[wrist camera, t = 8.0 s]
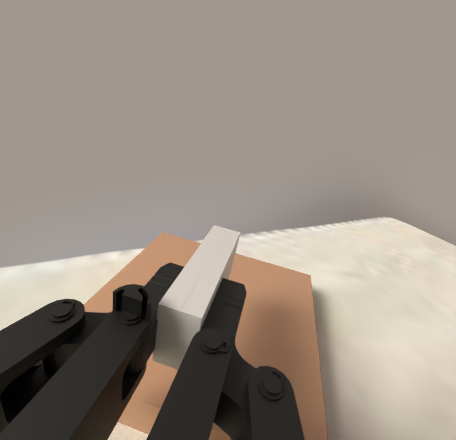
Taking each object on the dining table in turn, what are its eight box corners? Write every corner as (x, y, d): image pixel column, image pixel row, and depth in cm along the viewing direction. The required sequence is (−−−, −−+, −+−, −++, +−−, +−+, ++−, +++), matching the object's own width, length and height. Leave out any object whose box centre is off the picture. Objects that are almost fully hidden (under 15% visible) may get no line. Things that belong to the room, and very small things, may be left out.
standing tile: (309, 505, 11) (301, 299, 24) (331, 475, 10) (310, 275, 23) (33, 392, 13) (160, 256, 26) (26, 356, 12) (162, 232, 25)
